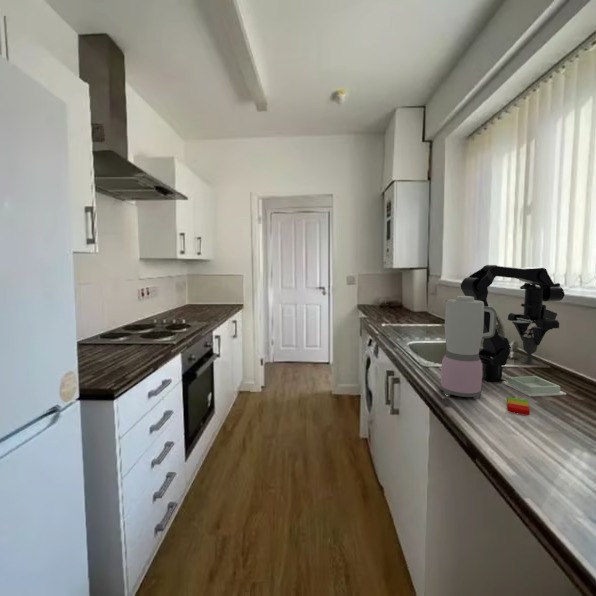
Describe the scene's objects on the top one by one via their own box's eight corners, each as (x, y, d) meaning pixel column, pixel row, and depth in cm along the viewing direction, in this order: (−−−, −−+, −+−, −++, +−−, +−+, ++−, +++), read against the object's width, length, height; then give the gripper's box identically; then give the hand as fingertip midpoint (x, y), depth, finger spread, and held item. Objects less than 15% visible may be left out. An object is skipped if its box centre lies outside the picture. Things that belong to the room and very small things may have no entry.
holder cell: (529, 396, 116) (530, 389, 116) (502, 382, 129) (502, 376, 128) (566, 394, 117) (566, 387, 117) (535, 381, 130) (536, 374, 130)
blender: (443, 399, 114) (448, 298, 110) (436, 385, 126) (440, 294, 122) (497, 403, 110) (504, 299, 107) (485, 389, 122) (491, 295, 119)
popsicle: (507, 413, 104) (507, 407, 104) (506, 396, 117) (506, 390, 117) (529, 417, 102) (530, 411, 101) (526, 399, 115) (526, 393, 115)
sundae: (543, 365, 132) (546, 325, 130) (525, 365, 132) (528, 324, 130) (532, 360, 138) (535, 321, 137) (514, 360, 139) (517, 321, 137)
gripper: (575, 304, 125) (571, 348, 126) (534, 298, 143) (531, 337, 145) (545, 304, 123) (542, 349, 125) (508, 299, 142) (505, 338, 143)
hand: (530, 343), depth 134 cm, fingers closed on sundae, 6 cm apart
